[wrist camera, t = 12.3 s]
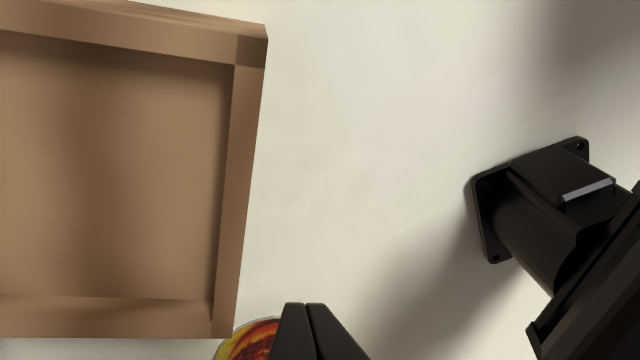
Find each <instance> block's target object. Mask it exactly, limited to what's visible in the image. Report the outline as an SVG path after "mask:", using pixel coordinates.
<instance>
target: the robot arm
mask: <svg viewBox="0 0 640 360" xmlns="http://www.w3.org/2000/svg"><path fill="white" fill-rule="evenodd" d="M578 144H579V145H578ZM577 145H578V147H577V148H576V146H577ZM483 180H484V182H483V184H481V185H479V184H480V182H481V181H483ZM471 184H472V190H473V195H474V201H475V206H476V212H477V217H478V223H479V228H480V233H481V239H482V244H483V250H484V255H485V258H486V259H487V261H488V262H489V263H491V264H497V263H499V262H502V261H505V260H507V259H510V258H512V257H514V258H515V259H516V260H517V262H518V263H519V264H520V265H521V266H522V267H523V268H524V269H525V270H526V271H527V272H528V274H529V275H530V276H531V277H532V278H533V279H534V280H535V281H536V282H537V283H538V284H539V286H540V287H541V288H542V289H543V290H544V291H545V292H546V293H547V294H548V295H549V296H550V297H551V300H550V302H549V303H548V304H547V306H546V307H545V308H544V310H543V311H542V312H541V314H540V315H539V316H538V318H537V319H536V320H535V321H534V322H531V323H530V324H529V326H528V327H527V328H526V330H525V331H526V334H527V336H528V339H529V341H530V343H531V346H532V348H533V350H534V353H535V355H536V358H537V360H640V180H639V181H638V182H637V183H636V185H635V186H634V187H633V189H632V190H631V191H632V192H633V193H631V192H630V191H628V190H626V189H625V188H623V187H621V186H620V185H618V184H616V179H615V178H614V177H612V176H611V175H609V174H607V173H605V172H604V171H602V170H600V169H598V168H597V167H595V166H593V165H591V164H590V163H589V142H588V140H587V139H585V138H583V137H581V136H575V137H572V138H570V139H567V140H564V141H562V142H559V143H557V144H552V145H550V146H547V147H545V148H542V149H539V150H537V151H534V152H532V153H529V154H526V155H524V156H521V157H519V158H516V159H514V160H512V161H510V162H507V163H505V164H502V165H499V166H497V167H494V168H492V169H489V170H487V171H484V172H481V173H479V174H477V175H475V176H474V178H473V179H472V183H471ZM494 255H495V256H494ZM267 360H370V358H369V357H368V356H367V355H366V353H365V352H364V351H363V350H362V349H361V347H360V346H359V345H358V344H357V342H356V341H355V340H354V339H353V338H352V336H351V335H350V334H349V333H348V332H347V330H346V329H345V328H344V327H343V325H342V324H341V323H340V322H339V321H338V319H337V318H336V317H335V316H334V315H333V313H332V312H331V311H330V310H329V308H328V307H327V306H326V305H325V304H323V303H306V304H303V303H299V302H287V303H286V304H285V306H284V309H283V312H282V315H281V318H280V321H279V324H278V327H277V330H276V333H275V336H274V340H273V343H272V346H271V349H270V352H269V355H268V358H267Z"/></svg>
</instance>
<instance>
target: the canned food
mask: <svg viewBox="0 0 640 360" xmlns="http://www.w3.org/2000/svg"><path fill="white" fill-rule="evenodd" d="M280 318H281V316H271V317H266V318H261V319H256V320H254V321H252V322H249V323H247V324H244V325H242V326H240V327H239V328H237V329H236V330H235V331H233V333H232V339H224V341H223V342H222V343H221V344H220V345H219V348H218V350H217V352H216V354H215V357H214V360H267V358H268V355H269V352H270V349H271V346H272V343H273V340H274V336H275V333H276V330H277V327H278V324H279V321H280Z"/></svg>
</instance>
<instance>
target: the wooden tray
mask: <svg viewBox="0 0 640 360" xmlns="http://www.w3.org/2000/svg"><path fill="white" fill-rule="evenodd" d="M267 46H268V36H267V33H266V29H265V26H264V25H263V24H257V23H251V22H246V21H240V20H234V19H229V18H223V17H217V16H212V15H206V14H200V13H195V12H189V11H183V10H178V9H172V8H166V7H161V6H155V5H149V4H144V3H138V2H132V1H127V0H0V337H24V338H195V339H232V333H233V325H234V317H235V308H236V300H237V292H238V284H239V276H240V267H241V259H242V251H243V243H244V235H245V226H246V218H247V210H248V202H249V194H250V185H251V177H252V169H253V161H254V153H255V144H256V136H257V128H258V120H259V111H260V103H261V95H262V87H263V79H264V70H265V62H266V54H267Z"/></svg>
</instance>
